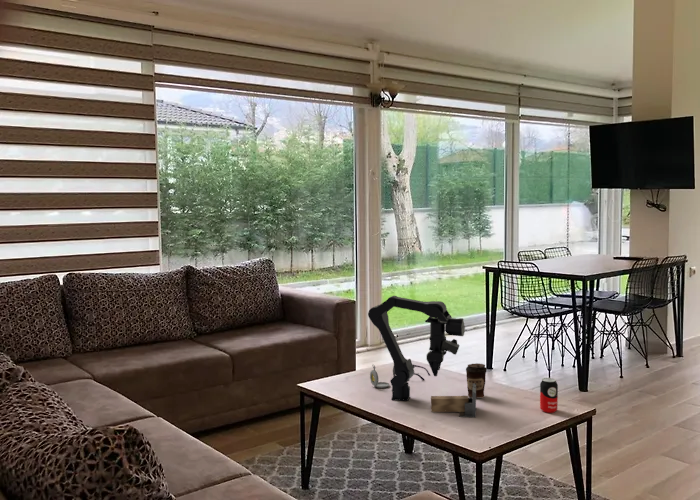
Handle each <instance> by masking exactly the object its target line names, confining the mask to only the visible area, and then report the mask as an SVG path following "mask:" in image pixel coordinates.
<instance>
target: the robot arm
mask: <svg viewBox="0 0 700 500" xmlns="http://www.w3.org/2000/svg"><path fill="white" fill-rule="evenodd" d="M393 308H398V309H403V310H408V311H415V312H419V313H422V314H425V315H426V316H428V317H427V319H425V321H424V322H425V323H429V325H430V327H429V329H430V330H429V339H428V340H429V348H428V352H427V353H426V361H427V363H428V365H429V367H430V369H431V372H432V374H433V376H434V377H437V376H438V374H439V373H438V372H439V371H440V370H441V365H442V362H443V361H444V357H445V356H446V354H447V352H448V353H451V354H453V355H455V356H456V355H457V353H458V351H459V348H460V344H459V343H458V340H457V339H455V338H453V339H452V340H448V339H447V336H446V334H447V335H448V336H455V337H456V336H457V337H464V335H465V330H466V326H465V323H464V318H461V317H460V318H455V317H452V316H451V314H450V312H449V311H448V309H447V305H446V304H445V302H443V301H440V300H439V301H437V300H435V301H434V300H433V301H422V300H417V299H410V298H405V297H402V296H397V295H392V296H390V297H388V298H387V299H386V300H385V301H383V302H382V303H381V304H377V305H375V306H373V307H371V308H369V310H368V312H367V316H368V318H369V320H370V321H371V323H372V325H373V326H375V327H376V328H377V329H378V331H379V333H380V335H381V337H382V340H383V342H384V344H385V346H386V349H387V351H388V353H389V355H390V357H391V359H392V361H393V366H394V371H395V377H392V378H391V379H390V380H389V381H390V382H389V383H390V384H391V386H392V387H391V390H392V391H391V392H392V394H391V395H392V397H391V400H392V401H405V402H406V401H408V400H409V399H410V397H411V387H410V385H409V383H410V380H411V378H413V376H414V373H415V368H416V367H414V366H413V365H414V364H413V363H412V359H411V358H408V359H407V358H406V357H405V356H404V354H403V352H402V350H401V348H400V345H399V344H398V340H396V337H395V334H394V333H393V332H394V331H393V330H392V328H391V326H390V320H389V315H388V313H389V311H391V310H392V309H393ZM412 364H413V365H412Z"/></svg>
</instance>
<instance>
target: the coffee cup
mask: <svg viewBox="0 0 700 500" xmlns="http://www.w3.org/2000/svg"><path fill="white" fill-rule="evenodd" d="M487 370H488V369H487V367H486V364H483V363H477V362H476V363H470V364H467V367H465V372H466V384H467V396H468V398H472V390H473V383H476V399H481V398H485V394H484V393H485V392H484V391H485V387H486V386H485V385H486V376H487V375H486V374H487Z"/></svg>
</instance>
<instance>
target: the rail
mask: <svg viewBox="0 0 700 500" xmlns="http://www.w3.org/2000/svg"><path fill="white" fill-rule="evenodd" d="M468 398H469V396H468V395H431V396H430V408H431V409H430V410H431V411H430V412H431V413H433V412H434V413H438V412H439V413H443V412H445V413H449V412H450V413H452V412H454V413H456V412H457V413H459V412H465V402H466V403H469V400H468Z"/></svg>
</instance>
